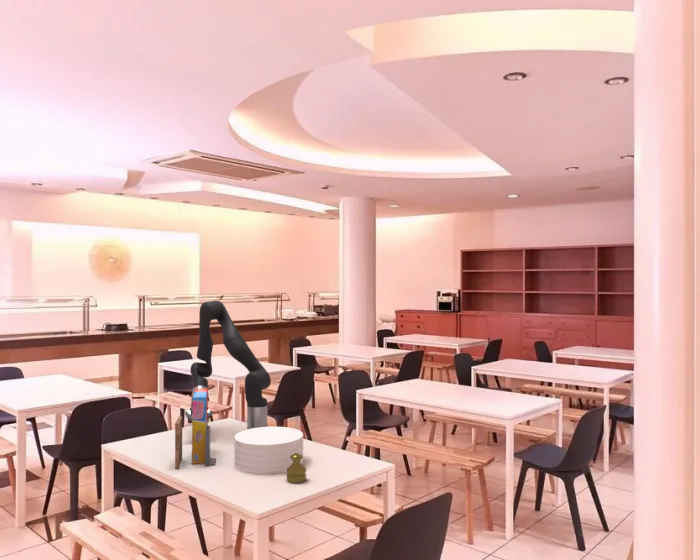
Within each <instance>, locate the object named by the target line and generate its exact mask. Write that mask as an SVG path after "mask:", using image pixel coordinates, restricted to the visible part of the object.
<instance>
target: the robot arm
mask: <svg viewBox="0 0 700 560" xmlns="http://www.w3.org/2000/svg"><path fill="white" fill-rule="evenodd" d="M199 307H200V308H199V319H198V320H199V323H198V325H199V327H198V328H199V329H198V330H199V331H198V332H199V336H198V337H199V338H198V344H197V345H198V346H197V352H196V358H197V359H198V360H200V361H203V362H193V363H192V364H191V366H190V369H189V370H190V375H191V378H192V392H191V399H192V398H193V395H194V392H195V389H209V380H208V379H207V378H209V377H211V375H212V374H213V366H212V354H213V348H214V342H213V341H214V340H213V337H212V333H211V331H210V325H211V322H212V321H215V320H216V321H217V322H218V324H219V326H220V327H221V329H222V342H223V345H224V347H225V348H226V350H227V352H228V353H229V355H230V356H231V357H232V358H233V359H234V360H236V361H237V362H238V363H239V364H241V365H242V366H243V367H244V368H246V370H247V371H248V373H247V374H246V376H245V378H244V394H245V395H244V396H245V401H246V430H248V429H252V428H259V427H269V426H268V399H267V398H265V397H263V392H262V391H263V390H266V389H268V388H269V387H270V386H271V384H272V383H271V381H272V380H271V376H270V374H269V372H268V370H267V369H266V368H265V367H264V366H263V365H262V363H261V362H260V361H259V360H258V359H257V356H256V355H255V354H254V352H253V351H252V350H251V348H250V347H249V344H248V343H247V342H246V340H245V339H244V337H243V336H242V334H241V333H240V331H239V330H238V328H237V327H236V325H235V323H234V322H233V320H232V318H231V316H230V314H229V311H228V310H227V307H226V306H225V304H223V302H222V301H220V300H210V301H209V300H208V301H205V302H203V303H202V304H201V305H200V306H199ZM190 401H191V403H190V408H189V410H187V411H184V415H185V416H184V417H186V418H187V419H188V421H189V422H190V423H191V424H192V400H190ZM212 415H213V410H210V409H208V420H209V419H210V418H211V417H212Z"/></svg>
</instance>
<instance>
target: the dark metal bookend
mask: <svg viewBox="0 0 700 560" xmlns="http://www.w3.org/2000/svg"><path fill="white" fill-rule="evenodd" d="M216 463H217V457H215V458H214V457H213V458H211V425H208V426H206V430H205V463H204V466H205V467H210V466H216Z"/></svg>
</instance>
